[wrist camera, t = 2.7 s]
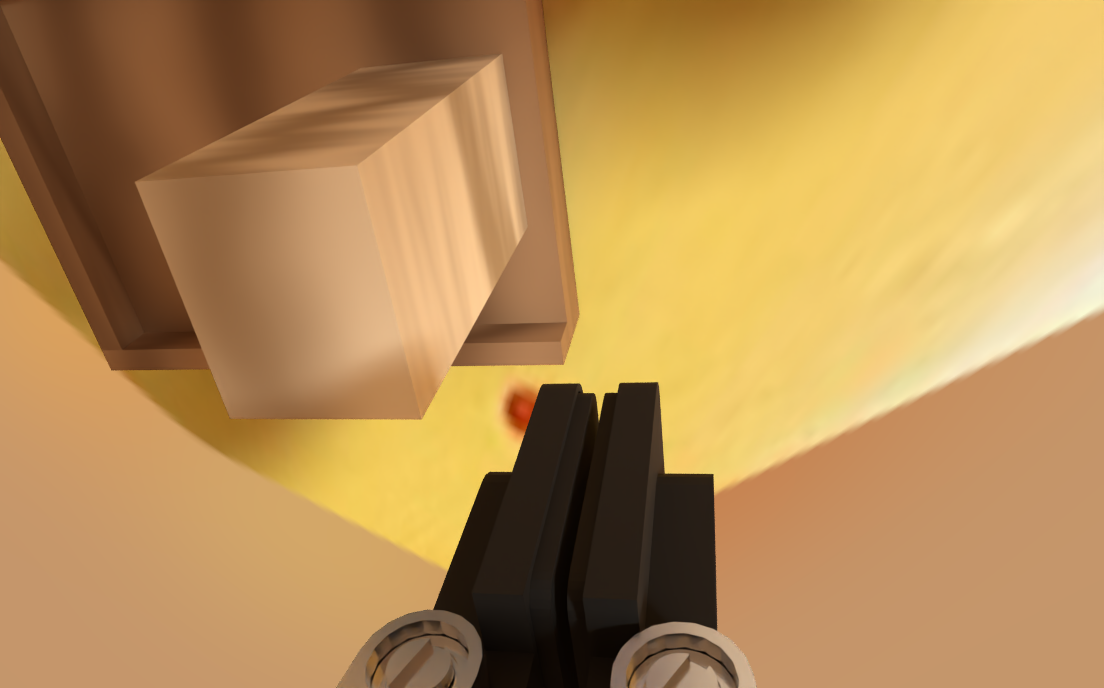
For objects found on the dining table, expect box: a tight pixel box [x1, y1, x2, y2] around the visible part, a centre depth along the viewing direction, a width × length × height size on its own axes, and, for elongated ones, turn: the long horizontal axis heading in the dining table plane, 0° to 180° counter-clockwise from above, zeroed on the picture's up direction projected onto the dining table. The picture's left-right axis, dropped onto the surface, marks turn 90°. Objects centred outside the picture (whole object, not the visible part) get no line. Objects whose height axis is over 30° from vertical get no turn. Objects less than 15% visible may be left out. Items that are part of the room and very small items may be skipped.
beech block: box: [135, 54, 528, 419], centre depth 22 cm, size 5×6×12 cm
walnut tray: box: [0, 0, 579, 370], centre depth 29 cm, size 20×16×4 cm
